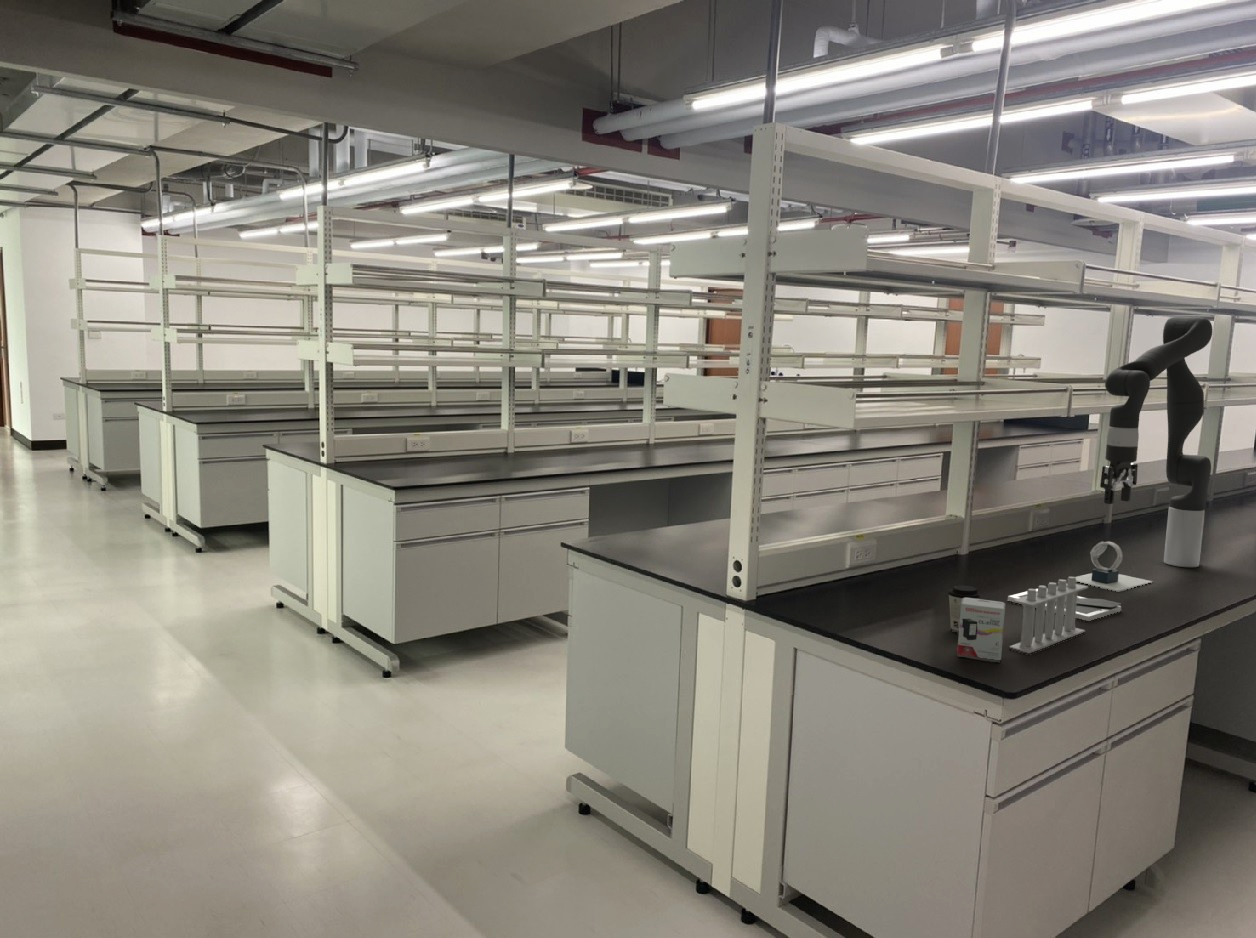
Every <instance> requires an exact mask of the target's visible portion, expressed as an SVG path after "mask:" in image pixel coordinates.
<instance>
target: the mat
mask: <svg viewBox="0 0 1256 938" xmlns="http://www.w3.org/2000/svg"><path fill="white" fill-rule="evenodd" d="M1075 577H1076V580H1077V581H1076V583H1077V582H1080V583H1079V584H1081V583H1084V584H1083V585H1085V584H1088V585H1087V586H1090V585H1091V586H1090V587H1094V586H1095V587H1094V588H1098V587H1100V588H1099V589H1103V590H1107V589H1108V590H1107V591H1111V590H1112V591H1111V592H1115V591H1116V593H1119V592H1124V591H1127V589H1128V590H1132V589H1135V588H1134V587H1136V588H1138V587H1137V586H1140V587H1142V585H1143V586H1146V585H1145V584H1147V585H1149V584H1148V583H1151V584H1153V583H1152V582H1154V581H1153V580H1147V579H1144V578H1138V577H1134V576H1129V575H1125V574H1120V573H1119V574H1118V582H1114V583H1109V584H1104V583H1100V582H1096V581H1091V580H1092V572H1091V573H1087V574H1083V575H1078V576H1075ZM1131 588H1132V589H1131Z"/></svg>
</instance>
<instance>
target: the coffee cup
mask: <svg viewBox="0 0 1256 938" xmlns="http://www.w3.org/2000/svg"><path fill="white" fill-rule="evenodd" d="M947 594H948V603H949V617H950V618H949V619H950V620H949V621H950V629H951V628H952V629H954V630H957V631H959V625H960V613H961V601H962V598H974V599H980V598H981V594H980V592H978V589H977V588H976V587H974V586H968V585H962V584H961V585H955V586H953V588H951V589H948V591H947Z"/></svg>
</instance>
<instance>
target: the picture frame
mask: <svg viewBox="0 0 1256 938" xmlns="http://www.w3.org/2000/svg"><path fill="white" fill-rule="evenodd" d="M1034 589H1035V590H1036V592H1038V588H1034ZM1027 591H1028V590H1026V591H1022V592H1018V593H1015V594H1010V595H1007V601H1012V602H1013V600H1015V599H1018V598H1021V597H1025V596H1027ZM1015 603H1016V602H1015ZM1015 603H1014V604H1015ZM1056 603H1057V599H1056V602H1055V613H1056ZM1019 604H1020V603H1019ZM1019 604H1018V605H1019ZM1121 605H1122V603H1121V602H1116V601H1112V600H1108V599H1103V598H1089V597H1083V596H1078V595H1077V604H1076V616H1075V618H1079V619H1082V620H1086V621H1091V620H1094V619H1097V618H1100V619H1102V618H1101V617H1103V618H1105V617H1104V616H1106V617H1108V616H1107V615H1109V616H1111V615H1110V614H1112V615H1114V613H1115V614H1118V613H1121V612H1122V606H1121ZM1021 606H1023V604H1022V605H1021ZM1046 607H1047V602H1046V604H1045V610H1046ZM1065 607H1066V597H1065ZM1035 608H1037V605H1035ZM1120 611H1121V612H1120ZM1117 612H1118V613H1117ZM1064 615H1065V609H1064ZM1097 620H1098V619H1097ZM1094 621H1095V620H1094ZM1091 622H1092V621H1091Z"/></svg>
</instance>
